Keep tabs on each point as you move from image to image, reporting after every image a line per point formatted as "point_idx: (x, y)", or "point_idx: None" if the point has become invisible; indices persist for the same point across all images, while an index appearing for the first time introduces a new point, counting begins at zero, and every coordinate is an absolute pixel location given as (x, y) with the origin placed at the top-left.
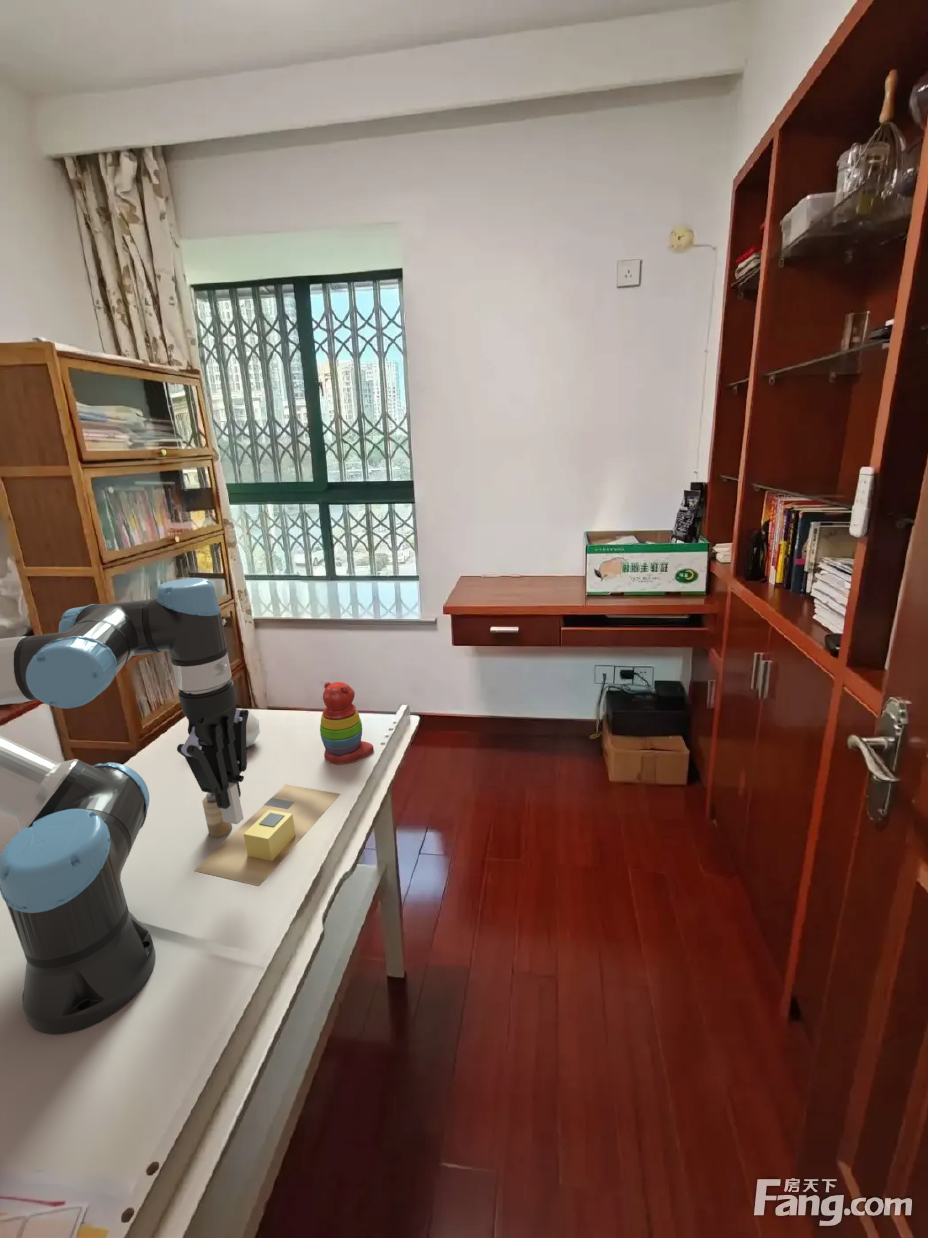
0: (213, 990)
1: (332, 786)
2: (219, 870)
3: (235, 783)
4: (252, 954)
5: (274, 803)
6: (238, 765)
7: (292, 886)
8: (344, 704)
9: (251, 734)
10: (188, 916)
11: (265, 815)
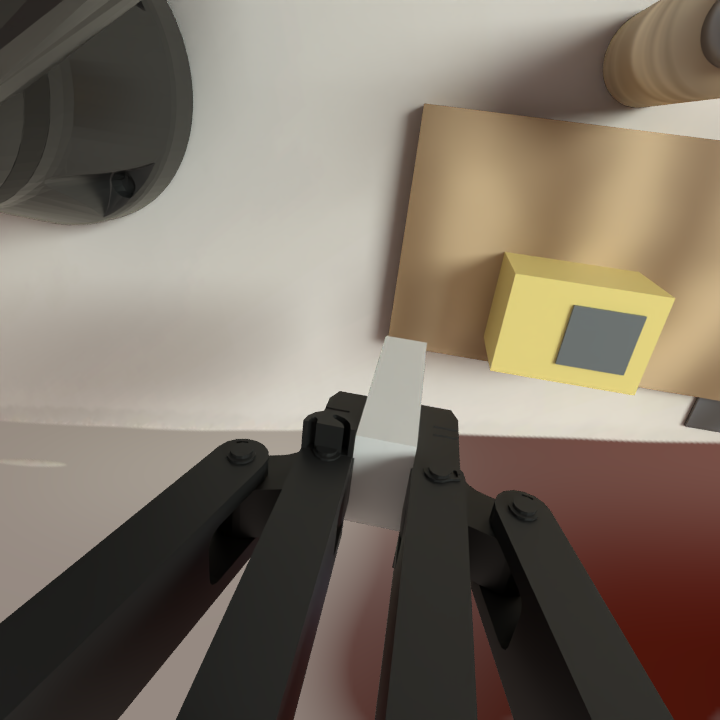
0: (147, 362)
1: None
2: (432, 196)
3: (397, 527)
4: (231, 395)
5: None
6: (492, 581)
7: None
8: None
9: None
10: (283, 191)
11: (632, 303)
